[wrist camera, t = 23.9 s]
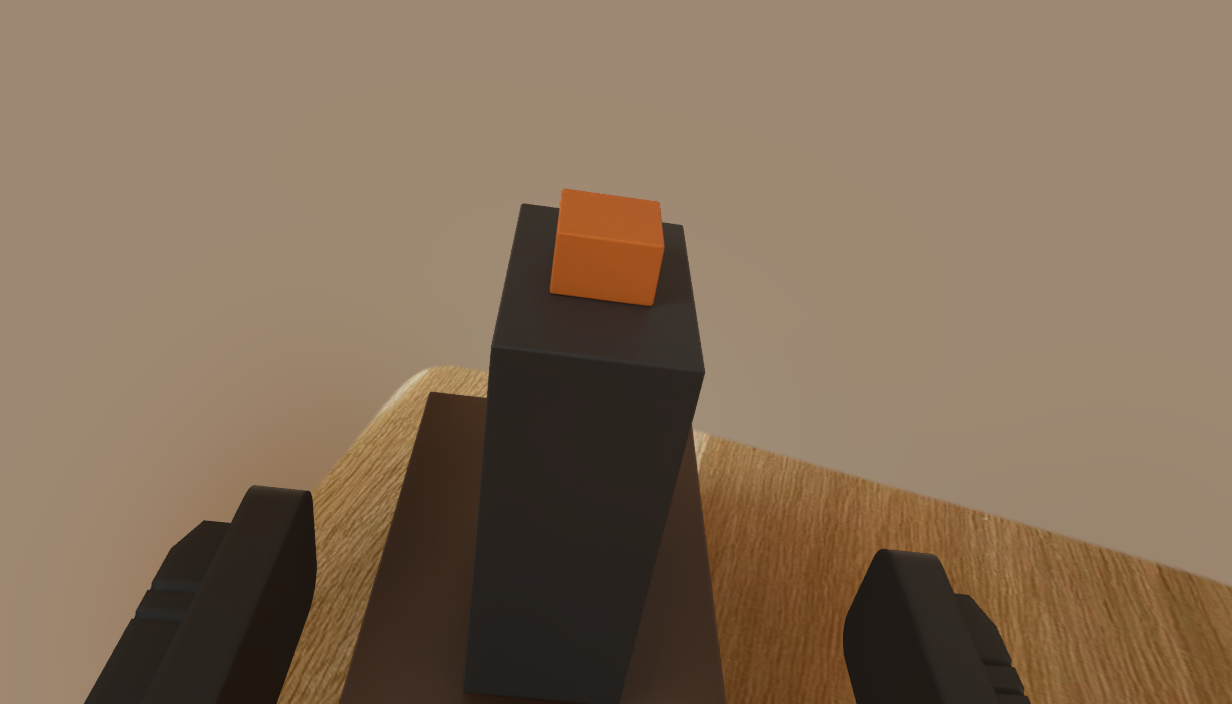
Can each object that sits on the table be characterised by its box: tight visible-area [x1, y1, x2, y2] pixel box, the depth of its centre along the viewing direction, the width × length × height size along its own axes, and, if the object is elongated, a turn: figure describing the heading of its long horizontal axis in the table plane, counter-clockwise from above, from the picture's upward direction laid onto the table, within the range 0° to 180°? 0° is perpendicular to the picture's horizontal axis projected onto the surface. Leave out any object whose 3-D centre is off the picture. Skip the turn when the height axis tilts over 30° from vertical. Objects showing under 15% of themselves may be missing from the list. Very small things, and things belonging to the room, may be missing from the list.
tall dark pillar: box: [463, 189, 705, 704], centre depth 24 cm, size 4×7×14 cm, turn 0°
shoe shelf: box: [339, 392, 726, 704], centre depth 29 cm, size 11×20×6 cm, turn 0°
